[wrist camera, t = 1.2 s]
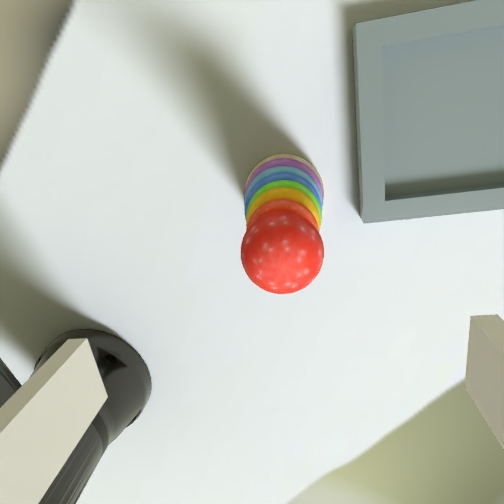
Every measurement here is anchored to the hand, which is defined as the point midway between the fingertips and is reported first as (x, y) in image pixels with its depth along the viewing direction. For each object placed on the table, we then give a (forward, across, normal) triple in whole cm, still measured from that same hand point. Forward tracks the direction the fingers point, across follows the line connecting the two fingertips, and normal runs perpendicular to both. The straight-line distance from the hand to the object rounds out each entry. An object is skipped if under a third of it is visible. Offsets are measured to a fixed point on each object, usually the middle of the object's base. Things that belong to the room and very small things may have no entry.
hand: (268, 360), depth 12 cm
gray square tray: (+26, +16, +5) cm, 31 cm away
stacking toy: (+27, 0, 0) cm, 27 cm away
